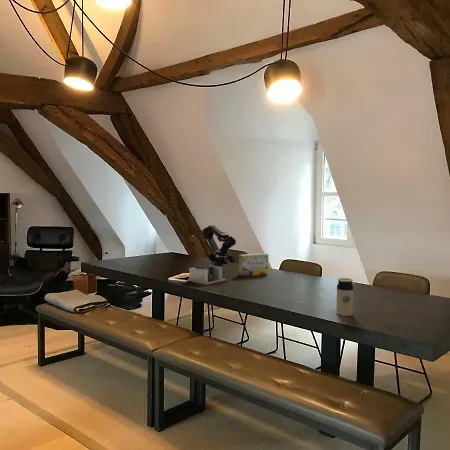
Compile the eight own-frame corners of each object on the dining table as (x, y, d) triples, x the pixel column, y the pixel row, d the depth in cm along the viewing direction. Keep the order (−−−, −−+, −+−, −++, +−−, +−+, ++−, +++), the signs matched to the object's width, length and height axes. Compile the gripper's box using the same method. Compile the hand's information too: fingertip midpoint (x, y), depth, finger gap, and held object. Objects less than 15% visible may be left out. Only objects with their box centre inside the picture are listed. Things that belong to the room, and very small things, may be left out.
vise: (207, 277, 348) (207, 264, 347) (225, 280, 337) (225, 267, 336) (187, 281, 334) (187, 267, 333) (206, 284, 323) (206, 271, 322)
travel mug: (336, 311, 259) (337, 277, 257) (352, 312, 257) (353, 278, 255) (335, 315, 251) (336, 280, 250) (352, 316, 249) (353, 281, 248)
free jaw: (208, 277, 346) (208, 264, 345) (222, 279, 338) (222, 267, 337) (204, 278, 344) (204, 265, 343) (218, 280, 335) (218, 267, 334)
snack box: (241, 276, 351) (242, 255, 350) (238, 275, 356) (238, 254, 355) (268, 274, 360) (268, 253, 358) (264, 273, 365) (264, 252, 363)
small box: (195, 281, 334) (195, 265, 333) (200, 279, 340) (200, 264, 339) (208, 283, 329) (208, 267, 328) (213, 281, 334) (213, 265, 333)
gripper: (240, 257, 353) (233, 275, 344) (216, 255, 361) (209, 273, 353) (235, 248, 345) (228, 266, 337) (211, 246, 353) (204, 264, 345)
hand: (217, 268), depth 343 cm, fingers closed
